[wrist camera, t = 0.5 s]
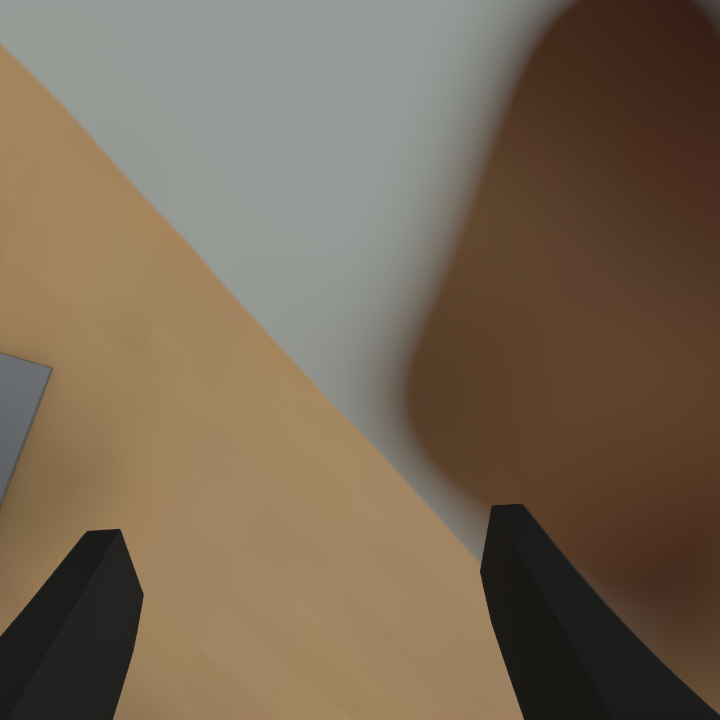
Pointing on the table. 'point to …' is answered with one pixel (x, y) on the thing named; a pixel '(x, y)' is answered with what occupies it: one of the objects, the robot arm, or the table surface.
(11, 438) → the mat
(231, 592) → the table surface
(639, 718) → the robot arm
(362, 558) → the table surface
